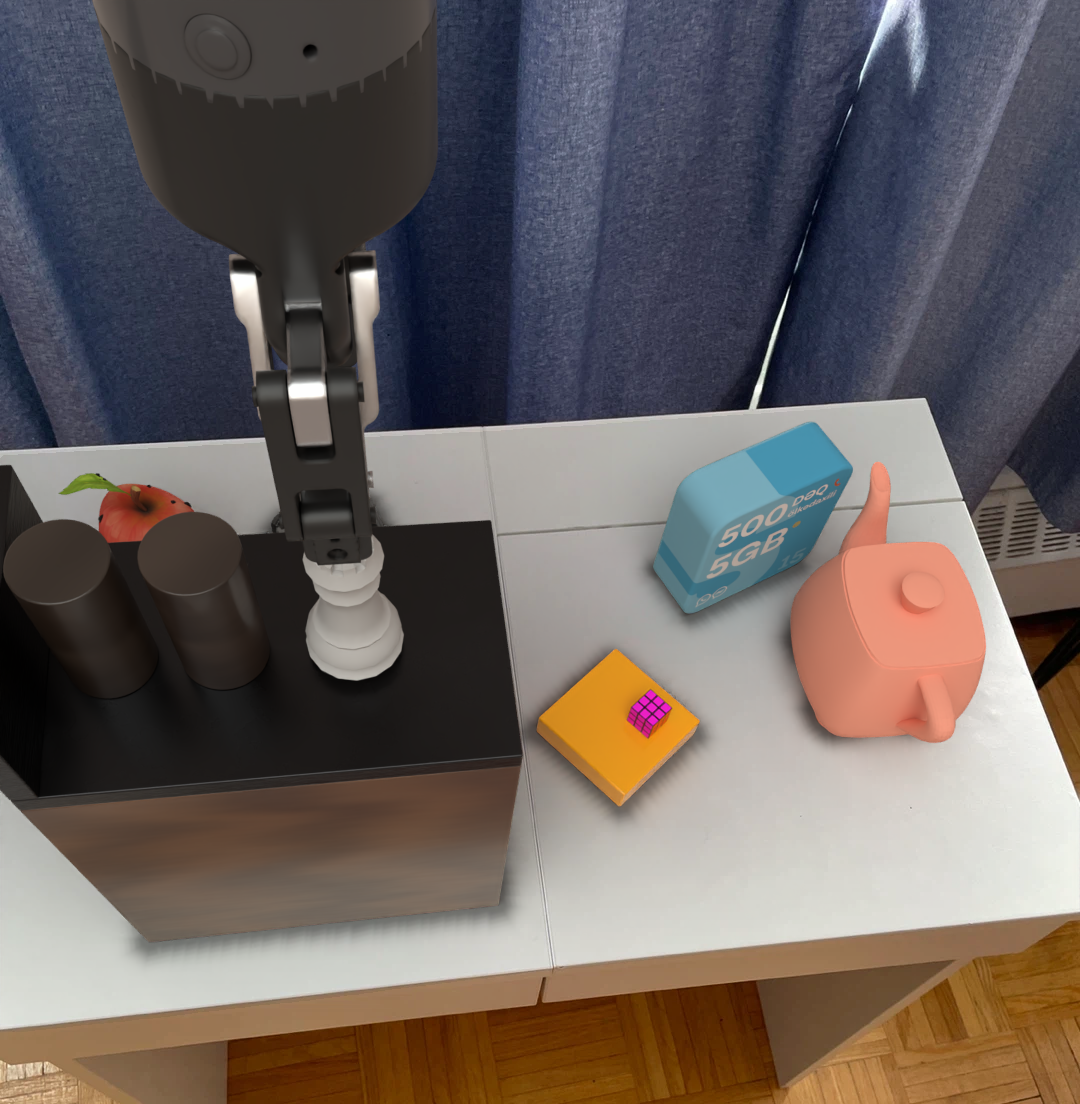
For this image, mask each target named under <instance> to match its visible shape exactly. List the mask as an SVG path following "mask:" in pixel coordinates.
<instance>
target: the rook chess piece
mask: <svg viewBox="0 0 1080 1104" xmlns="http://www.w3.org/2000/svg"><path fill="white" fill-rule="evenodd" d="M371 538H372V555H371V556H370V557H369V558H367V559H364V560H361V563H352V564H336V565H320V566H318V565H317V563H316V562H312V561H310V560H308V559H307V558H306V556H305V551H304V556H303V562H304V566H305V570H306V573H307V574H308V575H309V576H310V577H311V579H312V580H313V584H314V588H315V591H316V592H317V593H318V594H319V595H320V597H319V599H318V601H317V602H316V604H315V605H314V606H313V608H312V609H311V610H310V613H309V616H308V621H307V625H306V630H305V631H306V635H307V638H306V643H307V646H308V650H309V654H310V657H311V658H312V659H313V661H314V662H315V663H316V664H317V665H318V666H319V668H320V669H321V670H323V671H324V672H326V673H328V674H330V675H332V676H334V677H336V678H339V679H348V680H361V679H365V678H370V677H374V676H377V675H378V674H380V673H381V672H383V671H384V670H386V669H387V668H389V667H390V666H392V664H393V663H394V661H395V660H396V658H397V657H398V655H399V654H400V652H401V649H402V643H403V636H404V634H403V631H402V628H401V626H402V625H401V622H400V619H399V615H398V612H397V609H396V608H395V607H394V605H393V604H392V603H391V602H390V601H389V600H388V599H387V598H386V596H385V595H384V594H382V593H380V592H379V591H378V590H377V589H378V587H379V582H380V573H379V572H380V571H381V569H382V566H383V560H384V553H383V550H382V547H381V544H380V542H379V541H378V540H377V539H376V538H375V537H374V536H373V534H372V537H371Z"/></svg>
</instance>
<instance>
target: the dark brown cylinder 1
mask: <svg viewBox="0 0 1080 1104" xmlns="http://www.w3.org/2000/svg"><path fill="white" fill-rule="evenodd" d="M3 572H4V578H5V580H6V583H7V585H8V586H9V588H10V590H11V591H12V593H13V594H14V596H15V597H16V599H17V600H18V602H19V603H20V605H21V606H22V608H23V609H24V611H25V612H26V614H27V615H28V617H29V618H30V620H31V621H32V623H33V624H34V626H35V627H36V629H37V630H38V632H39V633H40V635H41V636H42V638H43V639H44V641H45V642H46V644H47V645H48V647H49V648H50V650H51V651H52V653H53V655H54V656H55V658H56V659H57V661H58V662H59V664H60V665H61V667H62V668H63V670H64V671H65V673H66V674H67V676H68V677H69V679H70V680H71V682H72V683H73V684H74V685H75V686H76V687H77V688H78V689H79V690H80V691H82V692H83V693H85V694H87V695H90V696H93V697H97V698H105V699H106V698H118V697H122V696H125V695H128V694H130V693H132V692H134V691H136V690H137V689H139V688H140V687H141V686H143V685H144V684H145V683H146V682H147V681H148V680H149V678H150V677H151V676H152V674H153V672H154V670H155V668H156V665H157V661H158V649H157V645H156V643H155V640H154V638H153V636H152V634H151V632H150V630H149V628H148V626H147V624H146V622H145V620H144V618H143V615H142V613H141V611H140V609H139V607H138V605H137V603H136V601H135V599H134V597H133V595H132V592H131V590H130V588H129V586H128V584H127V582H126V580H125V578H124V576H123V574H122V572H121V570H120V567H119V565H118V563H117V561H116V559H115V557H114V555H113V553H112V551H111V549H110V547H109V544H108V542H107V541H106V539H105V538H104V536H103V535H102V534H101V533H100V532H99V529H96V528H95V527H94V526H92V525H90V524H87V523H86V522H83V521H80V520H75V519H67V518H63V519H62V518H61V519H60V518H57V519H52V520H47V521H43V523H40V524H37V525H35V526H33V527H31V528H29V529H28V530H26V531H25V532H23V533H22V534H21V535H20V536H18V537H17V538H16V539H15V541H14V542H13V543H12V544H11V546H10V547H9V549H8V551H7V553H6V556H5V559H4V564H3Z"/></svg>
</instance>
